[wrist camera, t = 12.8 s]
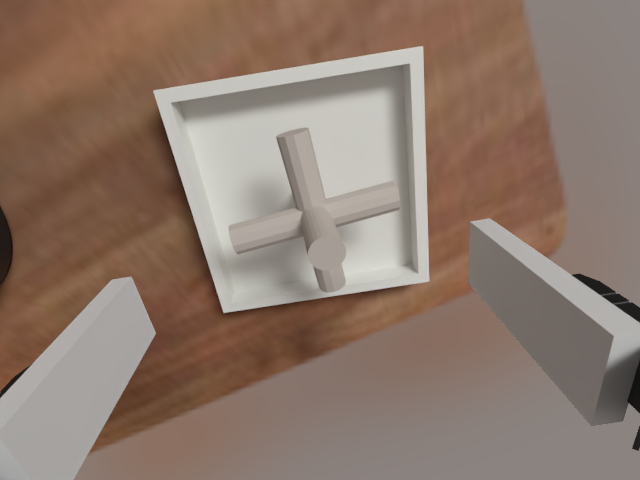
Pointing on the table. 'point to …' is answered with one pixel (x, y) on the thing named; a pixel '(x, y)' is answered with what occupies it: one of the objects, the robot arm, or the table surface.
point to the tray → (333, 163)
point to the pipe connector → (313, 213)
